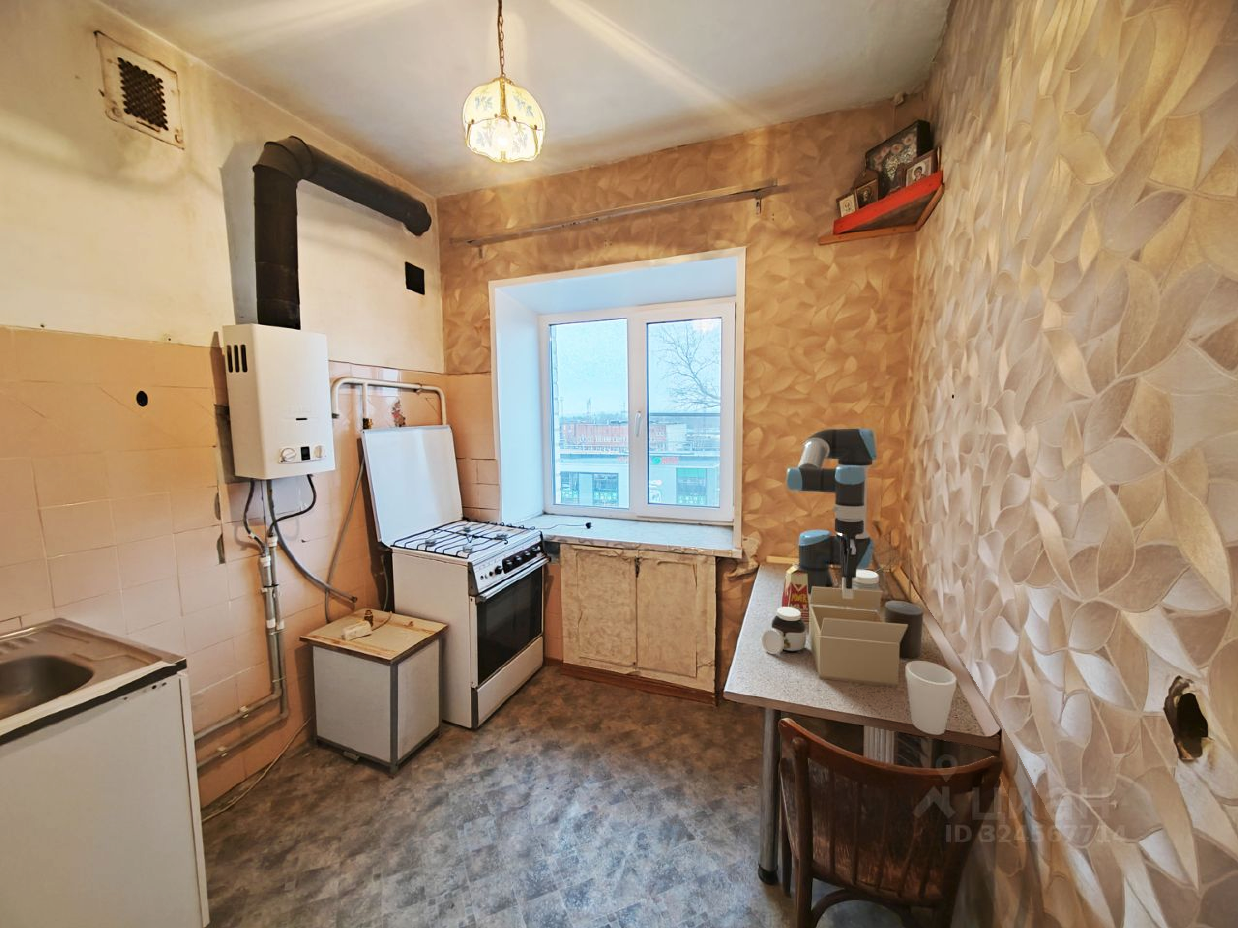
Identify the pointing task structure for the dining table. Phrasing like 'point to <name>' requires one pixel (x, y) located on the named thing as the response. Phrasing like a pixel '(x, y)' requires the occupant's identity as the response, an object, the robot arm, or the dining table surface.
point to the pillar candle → (913, 634)
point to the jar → (866, 583)
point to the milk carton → (796, 592)
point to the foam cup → (929, 695)
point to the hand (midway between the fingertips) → (847, 597)
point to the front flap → (863, 630)
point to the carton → (852, 650)
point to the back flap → (834, 598)
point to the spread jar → (785, 632)
